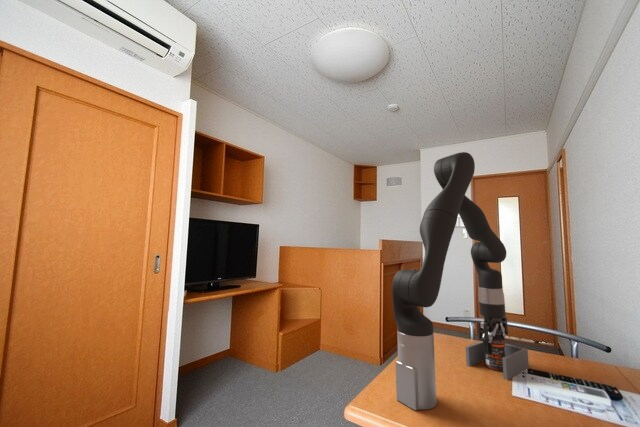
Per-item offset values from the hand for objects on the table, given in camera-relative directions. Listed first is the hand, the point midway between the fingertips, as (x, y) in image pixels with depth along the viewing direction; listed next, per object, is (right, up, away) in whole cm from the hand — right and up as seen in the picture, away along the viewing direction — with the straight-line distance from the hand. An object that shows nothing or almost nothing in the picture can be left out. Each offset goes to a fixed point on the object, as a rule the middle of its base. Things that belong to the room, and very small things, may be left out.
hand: (495, 351), depth 95 cm
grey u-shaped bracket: (+1, -5, 0) cm, 5 cm away
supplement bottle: (0, -5, -1) cm, 5 cm away
